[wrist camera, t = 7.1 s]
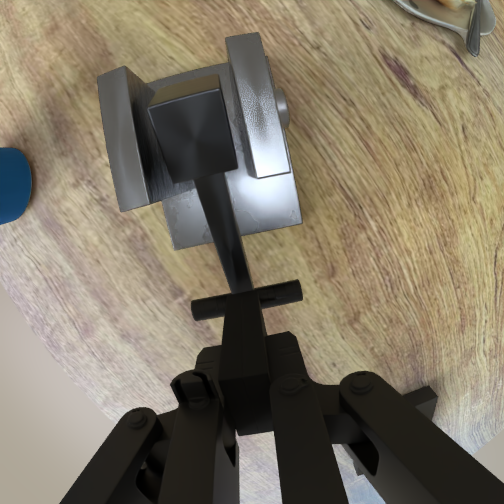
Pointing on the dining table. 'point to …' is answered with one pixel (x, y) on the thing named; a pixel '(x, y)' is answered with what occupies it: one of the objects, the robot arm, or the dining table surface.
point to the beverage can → (13, 184)
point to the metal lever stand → (244, 137)
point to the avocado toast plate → (456, 17)
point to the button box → (418, 406)
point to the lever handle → (210, 181)
